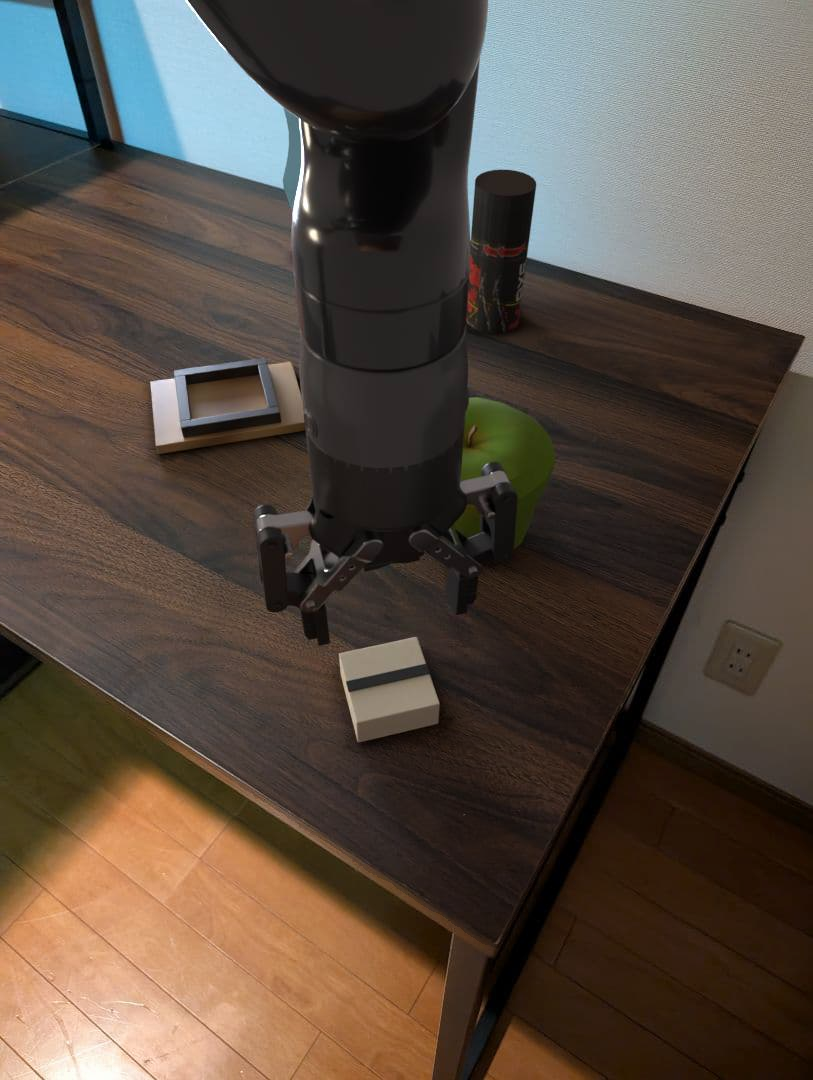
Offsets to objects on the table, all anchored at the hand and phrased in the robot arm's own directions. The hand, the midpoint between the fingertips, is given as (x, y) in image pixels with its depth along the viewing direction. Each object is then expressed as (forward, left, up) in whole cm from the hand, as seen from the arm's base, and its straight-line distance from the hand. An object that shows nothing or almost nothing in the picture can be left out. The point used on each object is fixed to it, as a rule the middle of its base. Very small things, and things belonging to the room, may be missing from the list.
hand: (389, 618), depth 49 cm
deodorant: (+23, +44, -9) cm, 50 cm away
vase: (+9, +63, -9) cm, 64 cm away
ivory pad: (0, 0, -9) cm, 9 cm away
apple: (+10, +14, -9) cm, 19 cm away
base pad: (-7, +35, -9) cm, 37 cm away
